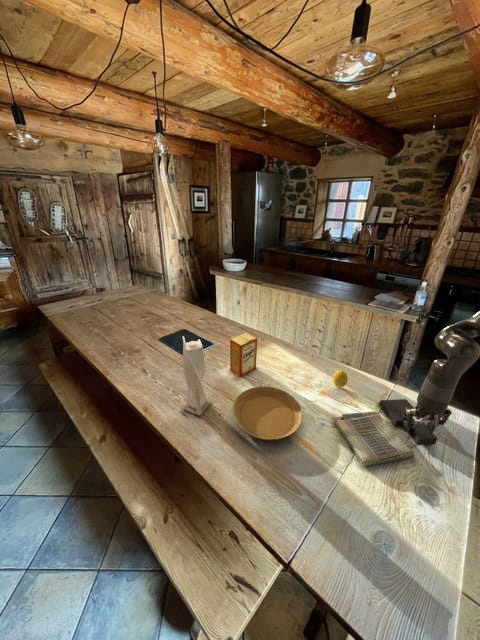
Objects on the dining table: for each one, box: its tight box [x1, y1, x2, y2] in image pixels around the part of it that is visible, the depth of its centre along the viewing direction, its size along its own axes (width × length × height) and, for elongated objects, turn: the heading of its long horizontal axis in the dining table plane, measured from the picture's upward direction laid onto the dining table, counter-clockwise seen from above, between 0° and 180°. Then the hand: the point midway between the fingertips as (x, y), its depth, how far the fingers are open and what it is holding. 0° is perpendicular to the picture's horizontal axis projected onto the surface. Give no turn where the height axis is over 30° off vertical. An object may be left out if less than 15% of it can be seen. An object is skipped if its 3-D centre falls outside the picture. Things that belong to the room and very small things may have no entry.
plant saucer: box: [232, 385, 303, 441], centre depth 93 cm, size 24×24×3 cm
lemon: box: [332, 369, 349, 388], centre depth 107 cm, size 6×6×8 cm
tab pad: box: [401, 414, 439, 446], centre depth 87 cm, size 6×10×2 cm, turn 4°
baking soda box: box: [229, 332, 258, 378], centre depth 115 cm, size 10×6×16 cm
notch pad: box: [378, 398, 420, 427], centre depth 95 cm, size 10×10×2 cm
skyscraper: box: [182, 336, 212, 417], centre depth 92 cm, size 8×8×28 cm
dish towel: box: [333, 410, 415, 467], centre depth 85 cm, size 19×18×3 cm
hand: (418, 433), depth 86 cm, fingers closed on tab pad, 6 cm apart
